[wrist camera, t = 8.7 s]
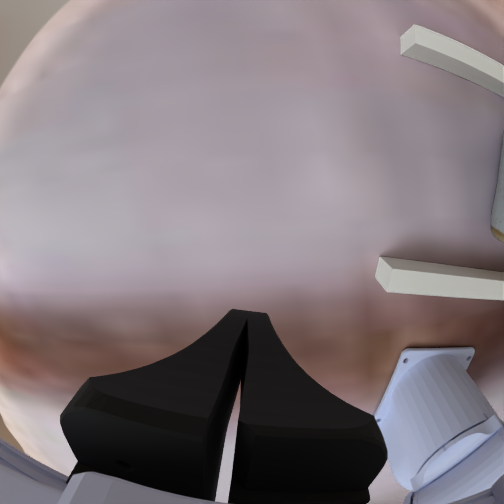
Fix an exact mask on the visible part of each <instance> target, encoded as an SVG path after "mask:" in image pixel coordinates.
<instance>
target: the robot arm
mask: <svg viewBox="0 0 504 504" xmlns="http://www.w3.org/2000/svg"><path fill="white" fill-rule="evenodd" d="M474 353H475V349H474V348H473V347H458V348H407V349H405V350H404V351H403V352H402V353H401V356H400V358H399V361H398V364H397V366H396V368H395V371H394V373H393V376H392V378H391V380H390V383H389V385H388V387H387V390H386V392H385V394H384V396H383V398H382V401H381V403H380V405H379V407H378V409H377V411H376V413H375V415H374V416H373V415H371V414H369V413H367V412H364V411H362V410H360V409H358V408H356V407H354V406H352V405H350V404H348V403H346V402H345V401H343V400H341V399H340V398H338V397H337V396H335V395H333V394H332V393H330V392H329V391H328V390H326V389H325V388H323V387H322V386H321V385H320V384H318V383H317V382H316V381H315V380H314V379H312V378H311V377H310V376H309V375H308V374H307V373H306V372H305V371H304V370H303V369H302V368H301V367H300V366H299V365H298V364H297V363H296V362H295V360H294V359H293V358H292V357H291V355H290V354H289V353H288V351H287V350H286V348H285V347H284V345H283V344H282V342H281V340H280V339H279V337H278V336H277V334H276V332H275V330H274V328H273V326H272V324H271V321H270V319H269V316H268V315H267V313H261V312H252V311H244V310H236V309H232V310H230V311H229V312H228V313H227V314H226V315H225V316H224V317H223V318H222V319H221V320H220V321H219V322H218V323H217V324H216V325H215V326H214V327H213V328H211V329H210V330H209V331H208V332H207V333H206V334H204V335H203V336H202V337H200V338H199V339H198V340H196V341H195V342H194V343H192V344H191V345H189V346H188V347H186V348H185V349H183V350H181V351H179V352H177V353H175V354H173V355H171V356H169V357H167V358H164V359H162V360H160V361H157V362H155V363H153V364H150V365H147V366H144V367H141V368H137V369H134V370H130V371H126V372H122V373H116V374H110V375H104V376H98V377H90V378H89V379H88V380H87V381H86V382H85V383H84V384H83V385H82V386H81V388H80V389H79V390H78V391H77V393H76V394H75V396H74V397H73V398H72V400H71V401H70V402H69V404H68V405H67V407H66V408H65V409H64V411H63V412H62V413H61V415H60V424H61V427H62V430H63V433H64V435H65V437H66V439H67V441H68V443H69V445H70V447H71V449H72V451H73V453H74V455H75V457H76V459H77V460H78V462H77V464H76V465H75V467H74V469H73V471H72V472H71V474H70V476H69V477H68V476H66V475H64V474H62V473H60V472H58V471H56V470H54V469H52V468H50V467H48V466H46V465H44V464H42V463H40V462H39V461H37V460H35V459H33V458H31V457H30V456H28V455H26V454H25V453H23V452H21V451H20V450H18V449H16V448H15V447H13V446H11V445H10V444H9V443H7V442H5V441H4V440H2V439H1V438H0V504H366V503H368V502H369V501H370V495H369V490H368V487H369V486H370V484H371V483H372V482H373V480H374V479H375V478H376V476H377V475H378V474H379V472H380V471H381V470H382V468H383V467H384V465H385V463H386V461H387V459H388V461H389V465H390V468H391V472H392V474H393V476H394V478H395V480H396V481H397V482H398V483H399V484H400V485H401V486H403V487H404V488H406V489H408V490H411V492H410V493H408V495H407V496H406V497H405V499H404V503H403V504H504V422H503V421H502V420H501V419H500V418H499V417H498V415H497V414H496V412H495V411H494V409H493V408H492V406H491V405H490V403H489V402H488V401H487V399H486V398H485V396H484V395H483V393H482V392H481V391H480V389H479V388H478V387H477V385H476V384H475V382H474V381H473V380H472V378H471V377H470V376H469V374H468V373H467V372H466V370H467V368H468V366H469V364H470V362H471V360H472V358H473V355H474ZM406 358H407V359H406ZM404 359H406V360H405V361H404ZM240 381H241V396H240V413H239V418H238V426H237V435H236V444H235V453H234V461H233V470H232V478H231V485H230V492H229V499H228V503H221V502H215V497H216V491H217V485H218V479H219V472H220V466H221V460H222V454H223V448H224V442H225V436H226V432H227V427H228V423H229V420H230V416H231V413H232V409H233V406H234V402H235V399H236V395H237V392H238V388H239V384H240Z"/></svg>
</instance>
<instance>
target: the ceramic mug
mask: <svg viewBox="0 0 504 504" xmlns="http://www.w3.org/2000/svg"><path fill="white" fill-rule="evenodd" d="M491 231H492V233H493V235H494V237H495V238H497V239H498V240H500V241H501V242H503V243H504V132H503V140H502V152H501V160H500V167H499V175H498V182H497V188H496V193H495V198H494V202H493V208H492V213H491Z"/></svg>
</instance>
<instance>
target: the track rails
mask: <svg viewBox="0 0 504 504" xmlns="http://www.w3.org/2000/svg"><path fill="white" fill-rule="evenodd" d="M400 42H401V55H403V56H406V57H409V58H412V59H416V60H418V61H421V62H424V63H427V64H430V65H433V66H435V67H438V68H441V69H443V70H446V71H448V72H451V73H453V74H455V75H458V76H460V77H462V78H465V79H467V80H469V81H471V82H474V83H476V84H478V85H480V86H482V87H484V88H486V89H488V90H490V91H492V92H494V93H496V94H498V95H500V96H502V97H503V98H504V65H502V64H500V63H499V62H497V61H495V60H493V59H491V58H490V57H488V56H486V55H484V54H482V53H480V52H478V51H476V50H474V49H472V48H470V47H468V46H466V45H464V44H462V43H460V42H458V41H455V40H453V39H451V38H449V37H446V36H444V35H442V34H439V33H437V32H434V31H432V30H429V29H426V28H424V27H421V26H418V25H416V24H414V25H413V26H412V27H411V28H410V29H408V30H407V31H406V32H405V33H404V34H403V35H402V36H401V37H400ZM375 278H376V279H377V280H378V282H379V283H380V284H381V285H382V287H383V288H384V289H385V290H386V292H394V293H406V294H419V295H432V296H445V297H459V298H474V299H491V300H504V272H498V271H490V270H483V269H475V268H468V267H460V266H453V265H445V264H437V263H429V262H422V261H414V260H406V259H398V258H390V257H382V256H379V261H378V266H377V270H376V274H375Z"/></svg>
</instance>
